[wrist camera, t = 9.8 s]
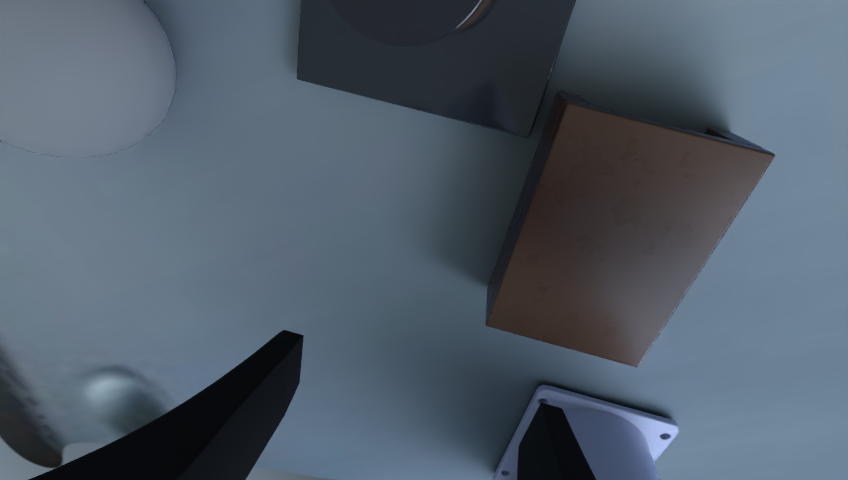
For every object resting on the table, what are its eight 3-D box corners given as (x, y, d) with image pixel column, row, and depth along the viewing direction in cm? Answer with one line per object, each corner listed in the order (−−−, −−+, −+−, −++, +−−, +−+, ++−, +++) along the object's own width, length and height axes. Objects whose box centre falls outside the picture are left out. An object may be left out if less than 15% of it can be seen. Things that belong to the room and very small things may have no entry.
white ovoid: (177, -64, 16) (-33, -117, 10) (234, 128, 20) (105, 182, 13) (-24, -30, 18) (-309, -57, 12) (60, 140, 21) (-127, 191, 15)
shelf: (621, 325, 21) (638, 368, 19) (486, 288, 21) (484, 326, 19) (733, 133, 16) (777, 154, 14) (557, 89, 17) (567, 102, 14)
